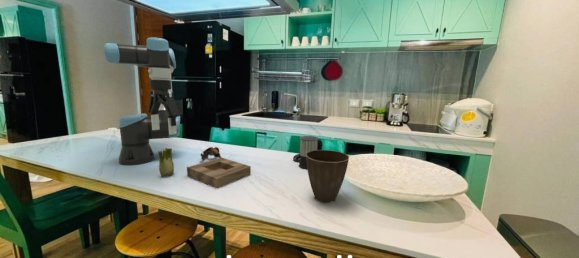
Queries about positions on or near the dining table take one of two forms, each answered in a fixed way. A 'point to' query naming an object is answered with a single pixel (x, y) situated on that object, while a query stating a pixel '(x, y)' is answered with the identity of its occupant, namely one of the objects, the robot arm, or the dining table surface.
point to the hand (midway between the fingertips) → (164, 131)
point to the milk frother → (307, 149)
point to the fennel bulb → (166, 162)
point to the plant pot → (326, 173)
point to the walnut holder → (218, 172)
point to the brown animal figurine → (210, 153)
